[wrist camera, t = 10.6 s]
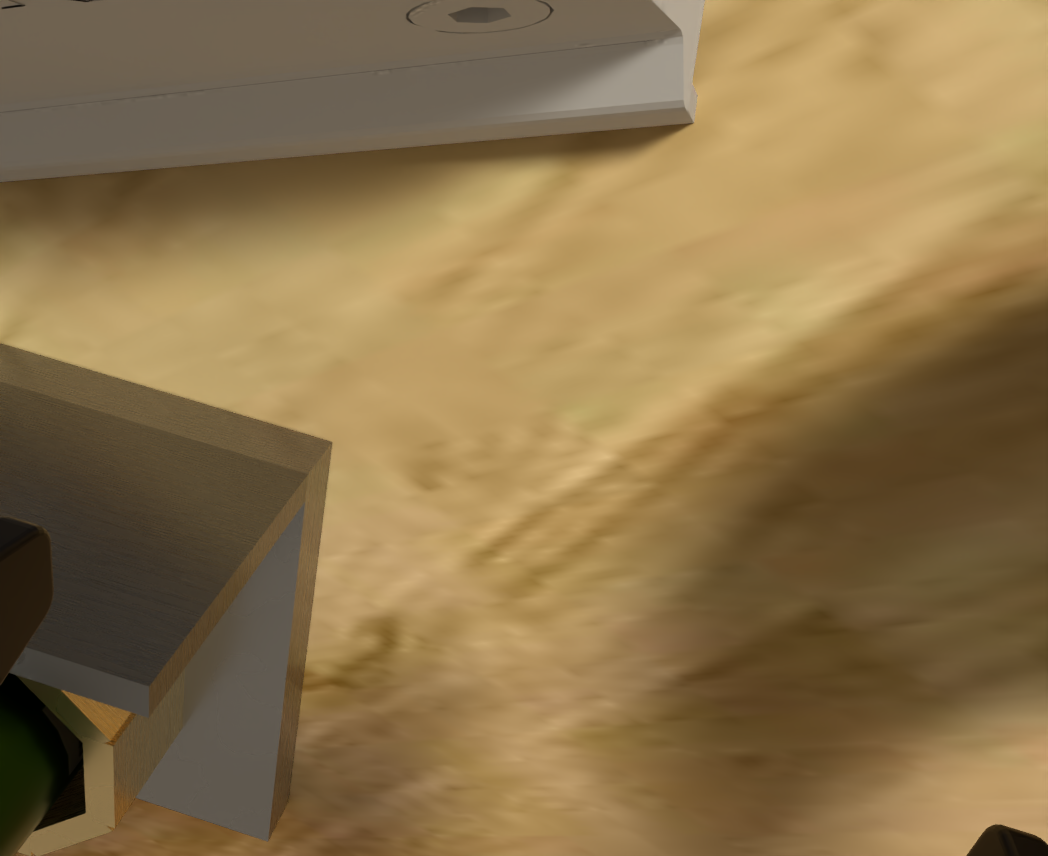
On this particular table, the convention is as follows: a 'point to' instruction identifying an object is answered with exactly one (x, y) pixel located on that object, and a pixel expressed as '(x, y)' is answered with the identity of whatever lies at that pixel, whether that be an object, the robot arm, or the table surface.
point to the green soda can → (31, 762)
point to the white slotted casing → (326, 77)
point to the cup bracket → (163, 593)
